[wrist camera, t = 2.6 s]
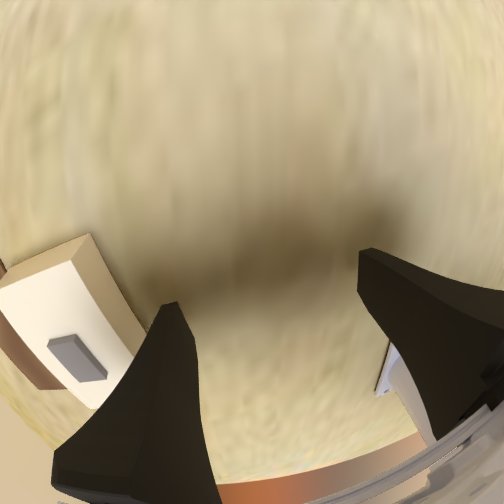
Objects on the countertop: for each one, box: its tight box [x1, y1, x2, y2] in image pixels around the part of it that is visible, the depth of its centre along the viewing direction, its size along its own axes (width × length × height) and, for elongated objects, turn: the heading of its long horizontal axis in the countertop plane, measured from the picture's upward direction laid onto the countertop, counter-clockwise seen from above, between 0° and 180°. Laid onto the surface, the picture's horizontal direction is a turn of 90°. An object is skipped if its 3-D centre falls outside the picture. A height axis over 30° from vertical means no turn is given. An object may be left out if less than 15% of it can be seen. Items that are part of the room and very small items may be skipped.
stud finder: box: [0, 233, 147, 409], centre depth 10 cm, size 5×8×3 cm, turn 13°
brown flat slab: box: [0, 260, 67, 390], centre depth 10 cm, size 5×9×1 cm, turn 11°
